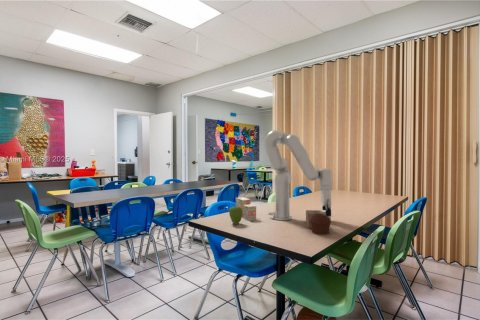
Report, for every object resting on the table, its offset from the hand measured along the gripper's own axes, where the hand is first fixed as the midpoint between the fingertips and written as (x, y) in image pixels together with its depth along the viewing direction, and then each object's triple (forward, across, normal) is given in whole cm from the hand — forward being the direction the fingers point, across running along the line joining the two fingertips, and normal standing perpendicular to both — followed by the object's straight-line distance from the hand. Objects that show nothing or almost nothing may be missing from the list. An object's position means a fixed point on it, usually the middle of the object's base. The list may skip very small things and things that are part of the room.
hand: (326, 214), depth 174 cm
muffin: (+5, +24, -9) cm, 26 cm away
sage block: (+5, 0, -1) cm, 5 cm away
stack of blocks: (+3, -11, -53) cm, 55 cm away
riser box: (+5, +13, -10) cm, 17 cm away
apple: (+3, +9, -58) cm, 59 cm away
